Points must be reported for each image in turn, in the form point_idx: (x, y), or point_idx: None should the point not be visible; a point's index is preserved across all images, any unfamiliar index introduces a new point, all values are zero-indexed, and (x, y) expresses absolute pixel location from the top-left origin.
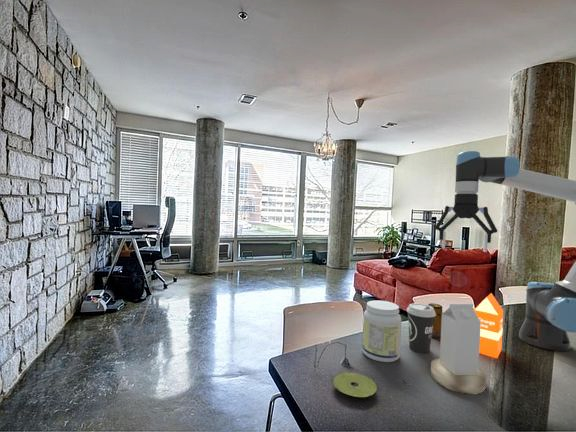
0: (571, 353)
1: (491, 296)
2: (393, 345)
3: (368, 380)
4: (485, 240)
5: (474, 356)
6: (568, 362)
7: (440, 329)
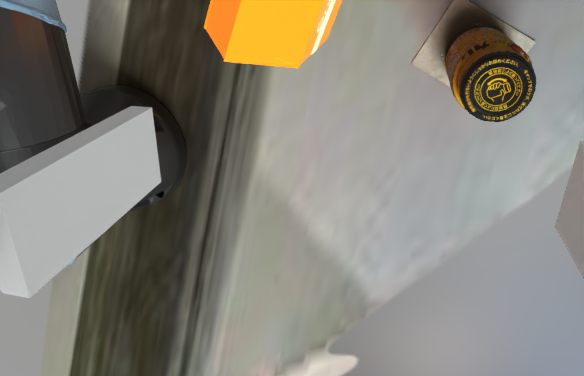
0: None
1: (234, 16)
2: None
3: None
4: (65, 151)
5: None
6: (94, 4)
7: (461, 40)
